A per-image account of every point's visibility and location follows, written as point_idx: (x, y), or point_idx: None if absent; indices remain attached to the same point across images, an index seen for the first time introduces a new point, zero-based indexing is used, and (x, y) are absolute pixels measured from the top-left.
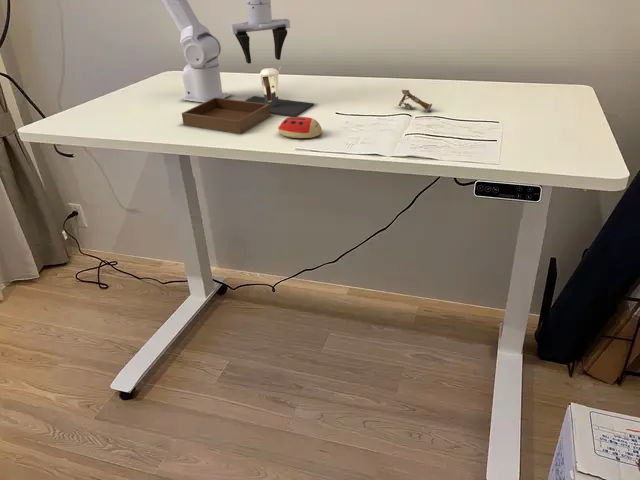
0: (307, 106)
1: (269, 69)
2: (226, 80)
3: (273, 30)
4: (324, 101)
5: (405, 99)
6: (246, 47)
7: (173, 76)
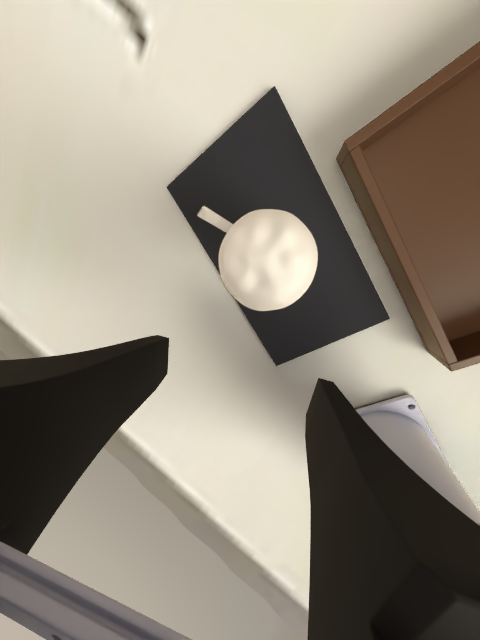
0: (195, 165)
1: (264, 254)
2: (262, 508)
3: (15, 535)
4: (132, 202)
5: None
6: (383, 456)
7: None
